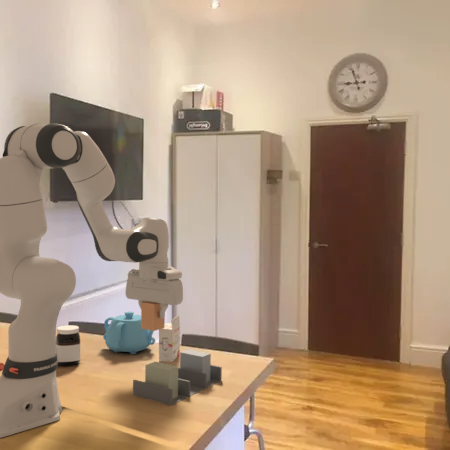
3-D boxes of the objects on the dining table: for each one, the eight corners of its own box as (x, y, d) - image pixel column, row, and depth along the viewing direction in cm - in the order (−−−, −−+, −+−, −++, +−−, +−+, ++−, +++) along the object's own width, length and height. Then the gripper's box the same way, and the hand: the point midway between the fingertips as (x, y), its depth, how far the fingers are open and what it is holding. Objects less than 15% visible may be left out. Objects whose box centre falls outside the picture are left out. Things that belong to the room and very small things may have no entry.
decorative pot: (146, 342, 203) (146, 306, 203) (157, 353, 188) (157, 314, 188) (102, 346, 197) (102, 309, 196) (110, 358, 182) (110, 318, 182)
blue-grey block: (202, 384, 154) (202, 356, 153) (180, 379, 158) (180, 352, 158) (210, 380, 157) (210, 353, 157) (188, 375, 161) (188, 349, 161)
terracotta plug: (153, 330, 161) (154, 304, 161) (141, 328, 164) (141, 302, 164) (164, 327, 166) (164, 302, 165) (151, 325, 168) (152, 300, 168)
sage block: (168, 400, 141) (168, 370, 141) (145, 394, 145) (145, 365, 145) (178, 396, 144) (178, 366, 144) (155, 390, 149) (155, 361, 148)
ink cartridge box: (166, 356, 185) (166, 313, 184) (180, 357, 184) (180, 314, 183) (157, 363, 176) (158, 319, 176) (172, 365, 175) (172, 320, 175)
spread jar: (82, 366, 173) (82, 330, 172) (44, 370, 169) (44, 333, 168) (77, 356, 184) (77, 322, 184) (42, 359, 180) (42, 324, 179)
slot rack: (170, 409, 138) (171, 389, 138) (133, 398, 145) (133, 380, 145) (221, 383, 158) (221, 367, 157) (185, 375, 165) (186, 359, 164)
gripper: (121, 269, 167) (120, 313, 168) (173, 274, 156) (172, 322, 157) (135, 267, 173) (134, 310, 173) (186, 273, 161) (185, 319, 162)
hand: (152, 316), depth 165 cm, fingers closed on terracotta plug, 5 cm apart
